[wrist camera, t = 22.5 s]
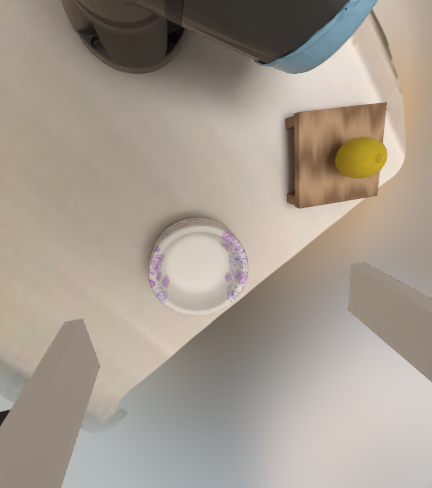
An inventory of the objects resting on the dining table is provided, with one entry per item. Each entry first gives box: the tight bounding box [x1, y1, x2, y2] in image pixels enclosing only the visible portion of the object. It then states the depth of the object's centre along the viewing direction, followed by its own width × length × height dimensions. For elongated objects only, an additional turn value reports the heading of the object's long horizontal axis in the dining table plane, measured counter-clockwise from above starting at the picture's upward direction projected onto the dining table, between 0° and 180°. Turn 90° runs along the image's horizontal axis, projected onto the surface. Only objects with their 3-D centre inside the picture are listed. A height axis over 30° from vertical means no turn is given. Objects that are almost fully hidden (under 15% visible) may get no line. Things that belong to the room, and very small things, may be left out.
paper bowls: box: [148, 218, 248, 316], centre depth 42 cm, size 15×15×8 cm
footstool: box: [285, 102, 387, 209], centre depth 41 cm, size 14×4×14 cm
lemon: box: [335, 137, 387, 179], centre depth 36 cm, size 6×6×8 cm
